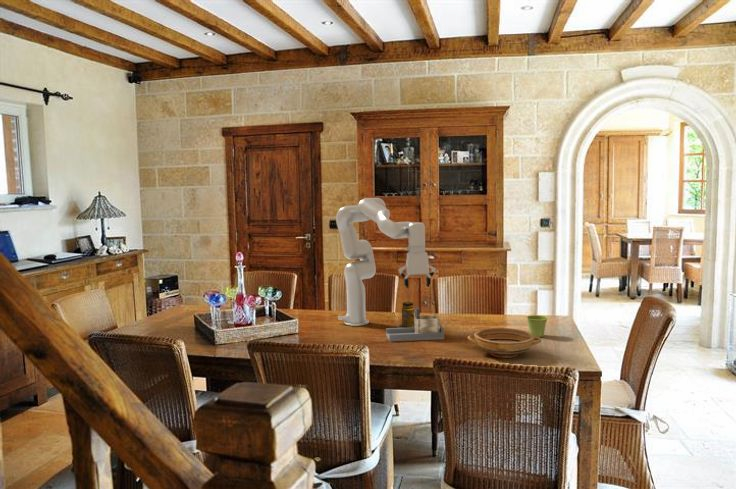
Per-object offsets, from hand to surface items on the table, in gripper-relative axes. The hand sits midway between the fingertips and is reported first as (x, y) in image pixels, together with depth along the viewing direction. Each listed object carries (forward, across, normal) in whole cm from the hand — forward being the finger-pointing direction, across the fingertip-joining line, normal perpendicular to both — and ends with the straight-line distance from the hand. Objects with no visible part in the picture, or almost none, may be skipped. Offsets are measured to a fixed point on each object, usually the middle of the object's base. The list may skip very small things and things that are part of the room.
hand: (417, 286), depth 265 cm
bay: (+23, -2, 0) cm, 23 cm away
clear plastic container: (+22, +4, 0) cm, 23 cm away
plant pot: (+24, +54, -7) cm, 59 cm away
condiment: (+24, -2, +20) cm, 31 cm away
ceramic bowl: (+24, +30, -32) cm, 50 cm away
